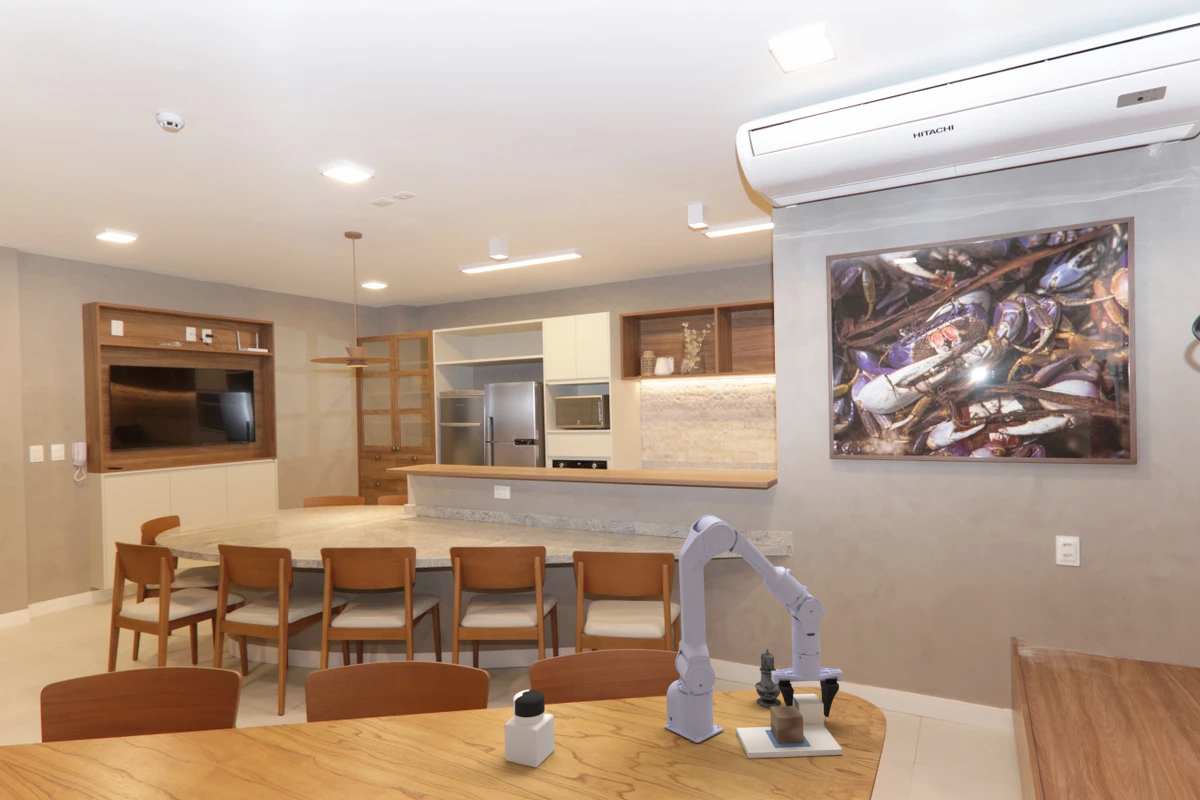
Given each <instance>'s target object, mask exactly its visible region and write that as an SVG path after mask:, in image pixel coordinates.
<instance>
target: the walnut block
mask: <svg viewBox="0 0 1200 800" xmlns="http://www.w3.org/2000/svg"><path fill="white" fill-rule="evenodd" d="M769 709H770V727H771V732H772V734H773V736H774V738H775V739H776V741H777V743H778V744H789V743H804V735H803V716H802V715H801V714H800V712H799V711H798V709H797V708H796V706H786V705H785V706H783V705H780V706H775V707H770V708H769Z"/></svg>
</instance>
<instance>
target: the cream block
mask: <svg viewBox="0 0 1200 800" xmlns="http://www.w3.org/2000/svg"><path fill="white" fill-rule="evenodd" d="M793 706H796V708H797V709H798V711H799V712H800V714H801V715H802V716H803V726H806V725H824V726H825V715H824V705H823V703H822V699H820V698H819V697H818V695H817V694H816V693H794V694H793Z"/></svg>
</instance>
